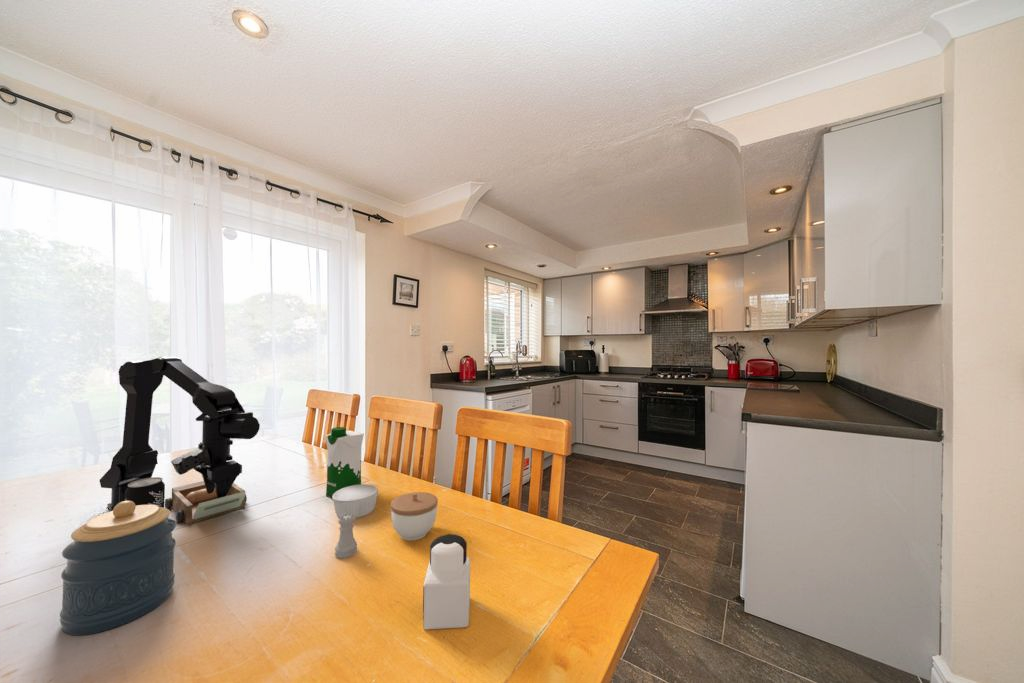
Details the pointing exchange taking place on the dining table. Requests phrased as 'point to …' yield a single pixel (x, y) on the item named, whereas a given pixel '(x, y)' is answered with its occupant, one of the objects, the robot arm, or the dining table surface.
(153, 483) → the beverage can
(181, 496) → the wooden drawer box
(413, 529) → the lidded jar
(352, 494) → the ramekin
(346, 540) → the rook chess piece
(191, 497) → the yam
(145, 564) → the canister
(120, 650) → the dining table surface
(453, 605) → the white block figurine
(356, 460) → the milk carton
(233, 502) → the tailgate
